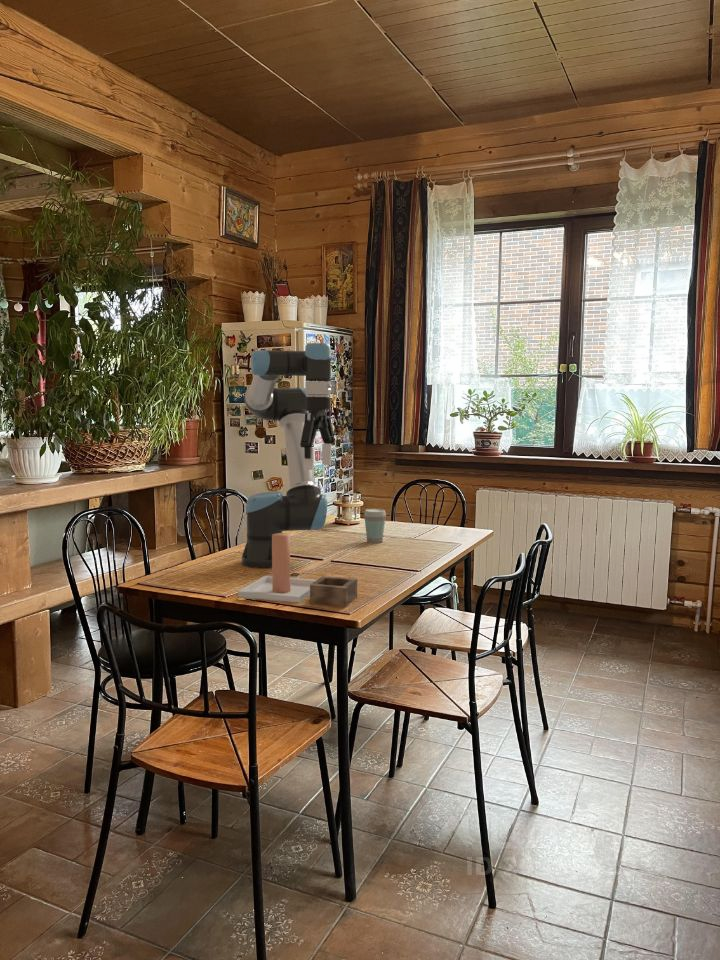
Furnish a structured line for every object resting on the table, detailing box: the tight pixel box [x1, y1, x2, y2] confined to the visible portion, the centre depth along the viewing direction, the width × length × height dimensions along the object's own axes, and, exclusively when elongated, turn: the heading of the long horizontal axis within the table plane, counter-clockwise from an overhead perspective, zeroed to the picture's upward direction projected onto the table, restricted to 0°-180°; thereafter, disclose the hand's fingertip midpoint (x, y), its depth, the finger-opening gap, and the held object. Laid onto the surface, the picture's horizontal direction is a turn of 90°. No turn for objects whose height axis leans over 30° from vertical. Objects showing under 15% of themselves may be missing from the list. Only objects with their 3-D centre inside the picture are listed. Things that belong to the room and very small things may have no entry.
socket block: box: [309, 575, 358, 608], centre depth 198 cm, size 10×10×6 cm
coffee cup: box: [363, 508, 387, 544], centre depth 279 cm, size 9×8×12 cm
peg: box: [271, 532, 291, 593], centre depth 206 cm, size 5×5×16 cm
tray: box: [237, 575, 317, 603], centre depth 207 cm, size 18×18×2 cm
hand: (318, 467), depth 222 cm, fingers open, 13 cm apart
